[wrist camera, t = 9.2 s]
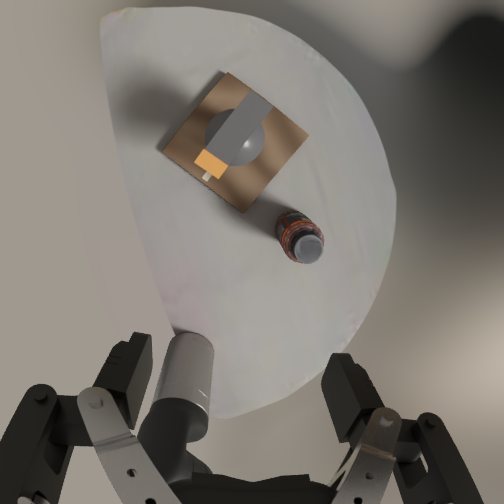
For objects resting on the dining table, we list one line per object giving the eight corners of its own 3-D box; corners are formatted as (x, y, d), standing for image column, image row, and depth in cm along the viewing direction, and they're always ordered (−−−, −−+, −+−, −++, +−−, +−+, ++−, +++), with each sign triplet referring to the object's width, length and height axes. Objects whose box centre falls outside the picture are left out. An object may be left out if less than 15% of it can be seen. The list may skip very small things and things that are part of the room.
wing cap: (233, 94, 32) (232, 77, 24) (279, 126, 33) (291, 118, 25) (190, 151, 34) (177, 150, 26) (236, 183, 35) (235, 191, 27)
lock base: (243, 211, 46) (244, 225, 38) (164, 152, 42) (147, 152, 34) (306, 136, 42) (323, 132, 34) (228, 74, 39) (226, 56, 30)
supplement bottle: (280, 249, 49) (292, 277, 38) (269, 216, 47) (279, 236, 36) (313, 238, 48) (334, 262, 37) (304, 205, 46) (324, 221, 36)
